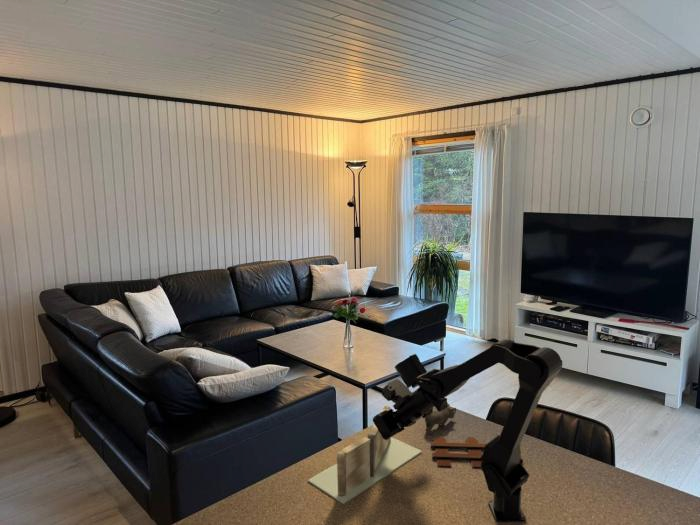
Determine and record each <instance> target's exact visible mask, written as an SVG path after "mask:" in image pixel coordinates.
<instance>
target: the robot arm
mask: <svg viewBox="0 0 700 525" xmlns="http://www.w3.org/2000/svg"><path fill="white" fill-rule="evenodd" d="M497 364H501V365H503V366H505V367H506V368H507V369H508V370H510V372H512V373H514V374H517V375H518V376H517V379H518V385H519V387H518V390H517V393H516V394H515V395H516V396H515V398H514V400H513V402H512V405H511V408H510V410H509V412H508V415H507V418H506V420H505V423H504V425H503V427H502V430H501V432H500V435H499V434H498V435H496V436H495V437H494V438H492V439H491V440H490V441H489V442H487V443H485V444H486V445H485V447H484V450H483V452H482V454H483V455H482V457H480V458H479V459H480V460H482V462H481V470H482V473H483V475H484V480H485V482H486V485H487V486H486V487H487V489H488V491H489V492H491V493H492V494H493V499H489V500H488V505H489V508H490V510H491V512H492V514H493V516H494V520H495V521H496V522H526V521H527V517H526V515H525V513H524V511H523V509H522V486H523V485H524V484H525V483H527V481H528V479H529V478H530V474H529V472H528V471H527V470H526V468H525V467H524V465H523V464H522V462H520V456H521V457H522V451H521V443H522V441H523V438H524V436H525V434H526V431H527V429H528V427H529V425H530V423H531V421H532V418H533V416H534V413H535V410H536V408H537V406H538V403H539V402H540V399H541V396H542V394H543V392H544V391H546V389H547V388H548V387H549V386H550V385H551V383H552V382H553V381H554V380H555V379H556V377H557V375H558V374H559V373H560V372H561V370H562V368H563V360H562V358H561V356H560V354H559V353H558V352H557V351H556V350H555V349H552V348H551V347H546V346H544V347H540V346H536V345H533V344H527V343H526V344H525V343H520V342H515V341H512V340H509V339H502V340H499V341H497V342H496V343H494V344H492V345H490V347H489V348H486V349H484V350H483V351H482V352H479V353H478V354H476V355H475V356H473V357H471V358H470V359H468V360H466V361H464V362H462V363H460V364H456V365H453V366H449V367H447V368H443V369H437V368H433V369H431V370H428V371H427V369H426V367H425V366H424V365H423V363H422V362H421V360H420V359H419V356H418V355H417V353H413V354H411V355H409V356H408V357H407V358H405V359H404V360H402V361H400V362H398V363H397V364H396V365H395V366H394V370H396V372H397V374H398V375H399V376H400V378H401V380H402V381H401V380H400V379H397V378H396V379H394V380H391V381H388V382H387V384H386V385H385V386H384V387H382V389H381V391H382V392H381V395H382V397H383V398H384V399H385V400H386V401H388V402H390V401H391V402H393V405H392V407H393V408H391V409H390V410H388V411H387V410H385V411H383V412H381V411H380V412H379V413H377V414H376V415H375V416H373V417H372V422H373V425H374V424H375V425H376V427H377V429H378V430H379V432H380V434H381V435H382V437H383V439H385V440H388V439H390V438H391V437H393V438H394V437H395V436H396V435H397V434H399V433H401V432H404V430H405V428H407V427H408V428H409V427H412V426H413V425H414V424H416V422H417V421H418V420H420V419H421V418H422V419H425V417H427V416H428V415H430V414H431V413H433V411H434V408H435V410H438V412H440V411H442V410H444V409H445V408H447V407H448V404H449V403H448V398H447V397H448V396H450V395H451V394H454V393H455V392H457V391H459V390H460V388H462V387H463V386H464V385H465V384H466V383H468V381H469V380H470V379H471V378H473V377H474V376H477V375H479V374H480V373H482V372H484V371H486V370H488V369H490V368H491V367H494V366H495V365H497ZM416 387H418V388H417V389H416V390H414V391H411V390H410V388H412V389H414V388H416ZM394 410H395V411H394Z"/></svg>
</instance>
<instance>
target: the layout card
mask: <svg viewBox="0 0 700 525" xmlns="http://www.w3.org/2000/svg"><path fill="white" fill-rule="evenodd" d="M422 453H423V451H422V450H420V449H418V448H416V447H414V446H413V445H409V444H408V443H405V442H403V441H401V440H399V439H397V438H395V437H394V436H393V437H391V442H390V443H389V444H388V446H387V448H386V450H385V452H384V454H383V456H382V458H381V460H380V462H379V464H378V466H377V468H376V470H375V472H374V476H373V477H370V478H369V479H368V480H366V481H365V482H363V483H362V484H360V485H359V486H357V487H356V488H354V489H352V490H351V491H349V492H348V493H346V495H345V496H342V497H341V496H339V495H338V477H337V463H335V464H333V465H332V466H330V467H328V468H326V469H325V470H323V471H321V472H319V473H318V474H315V475H313V477H310V478H309V479H308V480H307V482H308V483H310V484H311V485H313V486H315V487H316V488H318V489H319V490H320V491H322V492H324V493H325V494H327V495H329V496H330V497H332V498H333V499H334V500H336V501H338V502H339V503H341V504H342V505H344V504H346V503H347V502H349V501H350V500H352V499H354V498H355V497H357V496H358V495H360V494H361V493H363V492H364V491H366V490H367V489H369V488H370V487H372V486H373V485H374V484H376V483H378V482H379V481H381V480H382V479H384V478H386V477H387V476H388V475H390V474H391V473H393V472H395V470H398V469H399V468H400V467H402V466H403V465H405V464H406V463H409V462H410V461H411V460H413V459H414V458H415V457H417V456H419V455H420V454H422Z"/></svg>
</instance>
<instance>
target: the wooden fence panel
mask: <svg viewBox="0 0 700 525" xmlns="http://www.w3.org/2000/svg"><path fill="white" fill-rule="evenodd" d="M336 464H337V477H338V495H339V496H341V497H342V496H345V495H346V493H348V492H349V491H351V490H352V489H354V488H356V487H357V486H359V485H360V484H362V483H363V482H365V481H366V480H368V479H369V478H370V477H373V476H374V448H373V434H367V437H366V436H364V437H362V438H360V439H358V440H357V441H355V442H353V443H351V444H350V445H349V444H348V446H346V447H344V448H342V449H341V450H338V451H337V452H336Z"/></svg>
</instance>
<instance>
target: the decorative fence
mask: <svg viewBox="0 0 700 525" xmlns="http://www.w3.org/2000/svg"><path fill="white" fill-rule="evenodd" d="M486 444H487V443H479V441H478V439H477V438H476V437H474V436H467V437H466V438H465V442H449V441H447V438H445V437H444V436H442V435H436V436H435V437H434V438H433V441H431V442H430V446H431V447H430V448H431V449H434V450H435V452H432V453H431V454H432V455H431V457H432V459H433V460H436V466H437V468H449V469H450V468H452V462H451V461H453V460H454V461H470V464H471V469H481V462H482V460H480V459H479V458H480V457H482V455H483V452H482V451H484V447H485V445H486ZM451 449H452V450H467V453H461V452H460V453H459V452H449V450H451ZM523 462H524V459H523V457H522V455H521V456H520V463H523ZM481 470H482V469H481Z"/></svg>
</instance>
